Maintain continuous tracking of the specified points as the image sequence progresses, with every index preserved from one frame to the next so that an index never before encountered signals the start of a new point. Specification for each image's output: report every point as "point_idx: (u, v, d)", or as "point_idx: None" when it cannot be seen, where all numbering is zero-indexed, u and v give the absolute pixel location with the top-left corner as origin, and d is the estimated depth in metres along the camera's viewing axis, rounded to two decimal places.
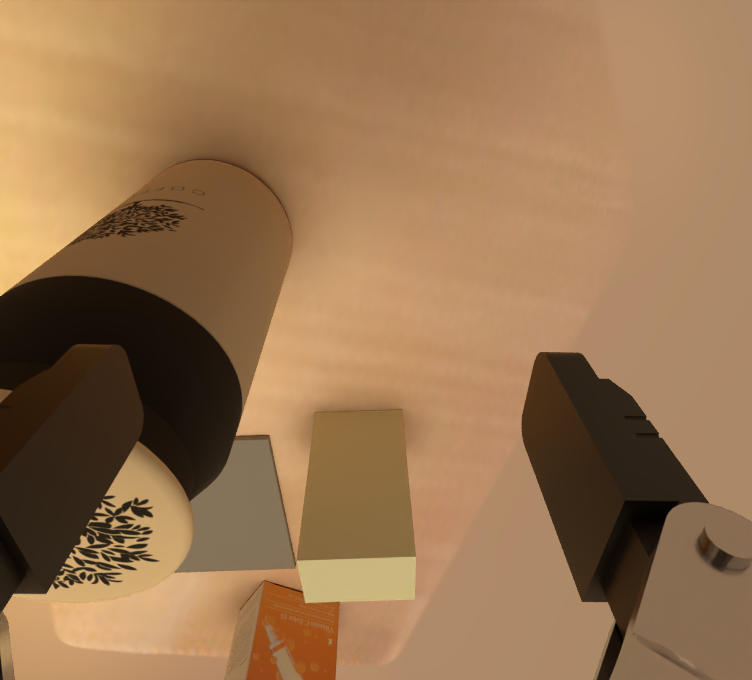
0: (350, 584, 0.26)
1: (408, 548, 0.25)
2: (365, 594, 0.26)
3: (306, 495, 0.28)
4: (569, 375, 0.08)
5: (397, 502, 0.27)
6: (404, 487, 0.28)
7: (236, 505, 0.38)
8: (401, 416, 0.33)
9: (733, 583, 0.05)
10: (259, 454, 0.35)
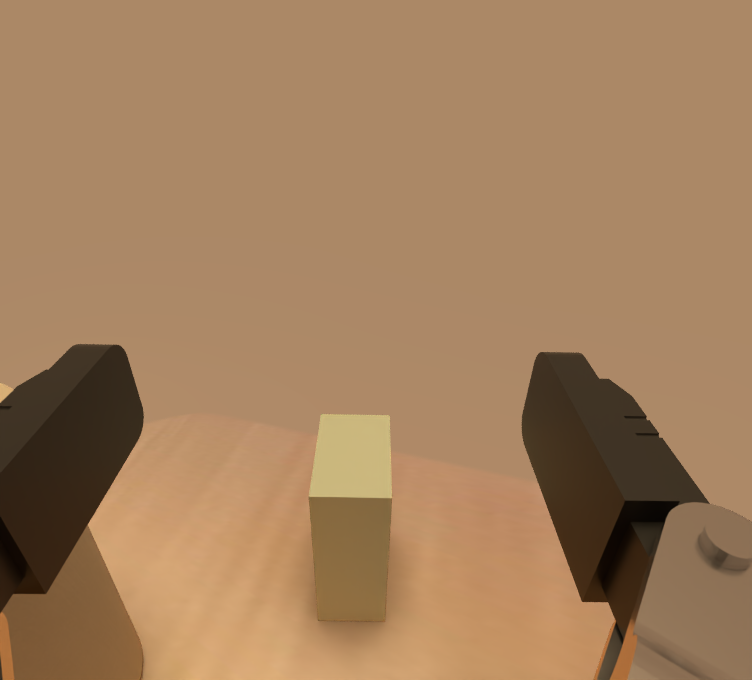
0: (359, 457, 0.26)
1: None
2: (379, 447, 0.26)
3: (313, 546, 0.25)
4: (569, 375, 0.08)
5: None
6: None
7: None
8: None
9: (734, 583, 0.05)
10: None
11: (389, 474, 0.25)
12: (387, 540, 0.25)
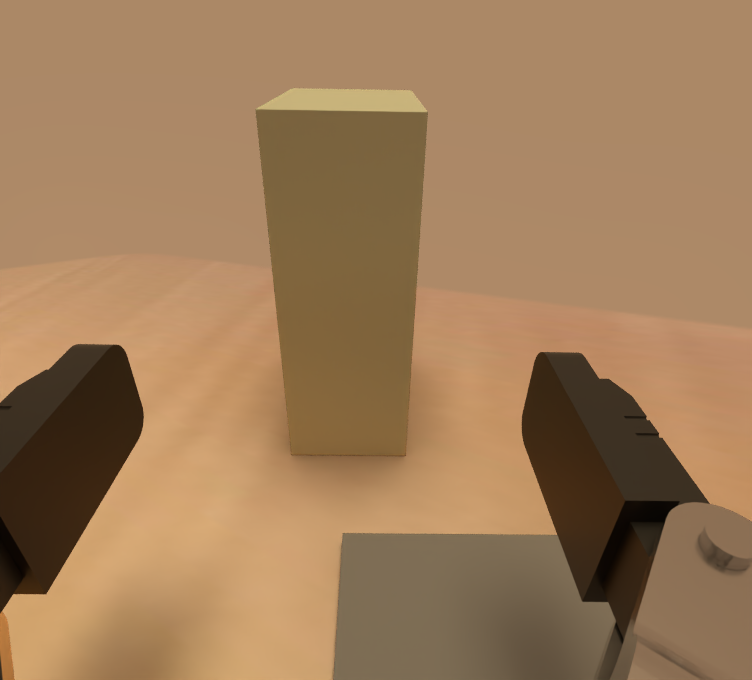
0: (359, 99, 0.13)
1: None
2: (396, 97, 0.14)
3: (273, 268, 0.13)
4: (569, 375, 0.08)
5: None
6: None
7: None
8: None
9: (734, 583, 0.05)
10: (395, 560, 0.13)
11: (419, 104, 0.13)
12: (415, 245, 0.13)
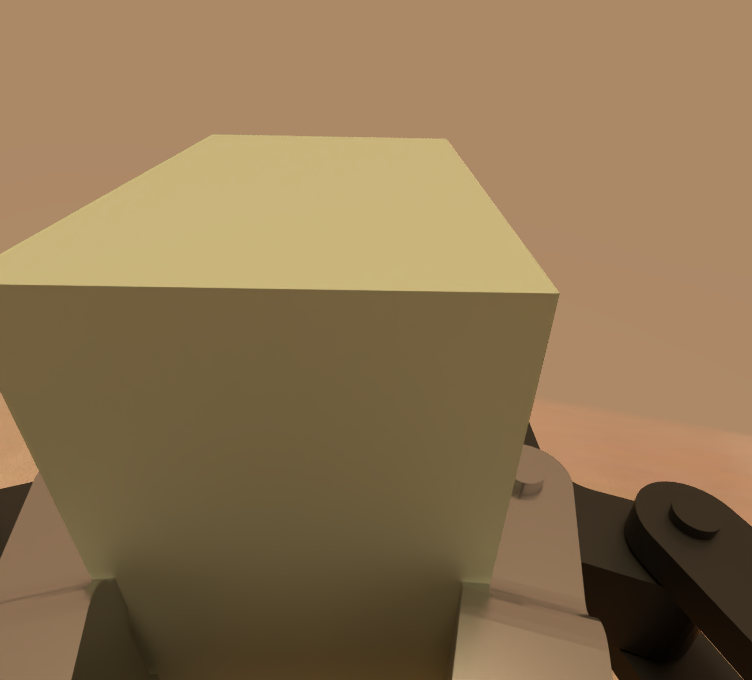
0: (336, 187, 0.05)
1: None
2: (424, 173, 0.06)
3: None
4: None
5: None
6: None
7: None
8: None
9: (516, 503, 0.06)
10: None
11: (498, 221, 0.04)
12: None
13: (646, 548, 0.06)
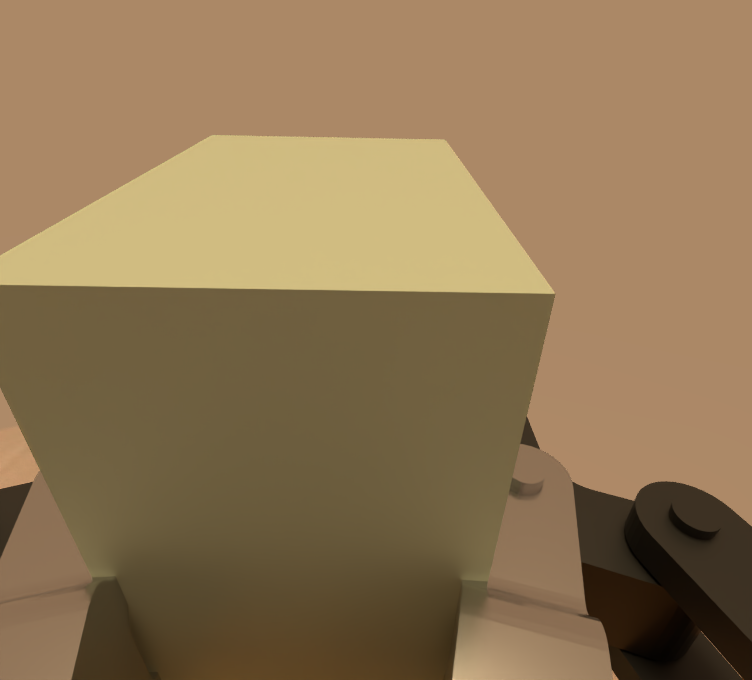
0: (334, 189, 0.05)
1: None
2: (422, 174, 0.06)
3: None
4: None
5: None
6: None
7: None
8: None
9: (516, 503, 0.06)
10: None
11: (495, 222, 0.04)
12: None
13: (646, 548, 0.06)
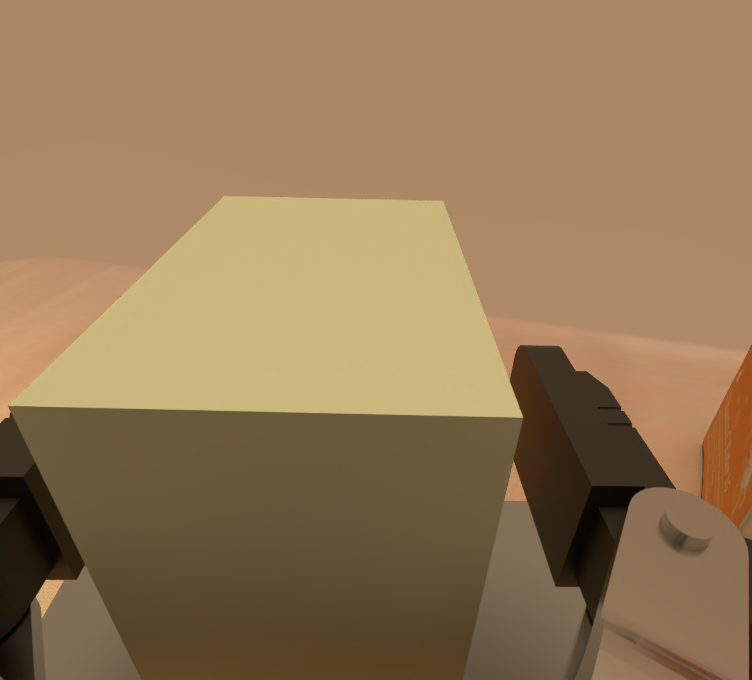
0: (336, 274, 0.06)
1: None
2: (418, 254, 0.07)
3: (138, 656, 0.06)
4: (546, 367, 0.08)
5: None
6: None
7: None
8: None
9: (690, 562, 0.05)
10: None
11: (479, 322, 0.05)
12: (462, 638, 0.05)
13: None
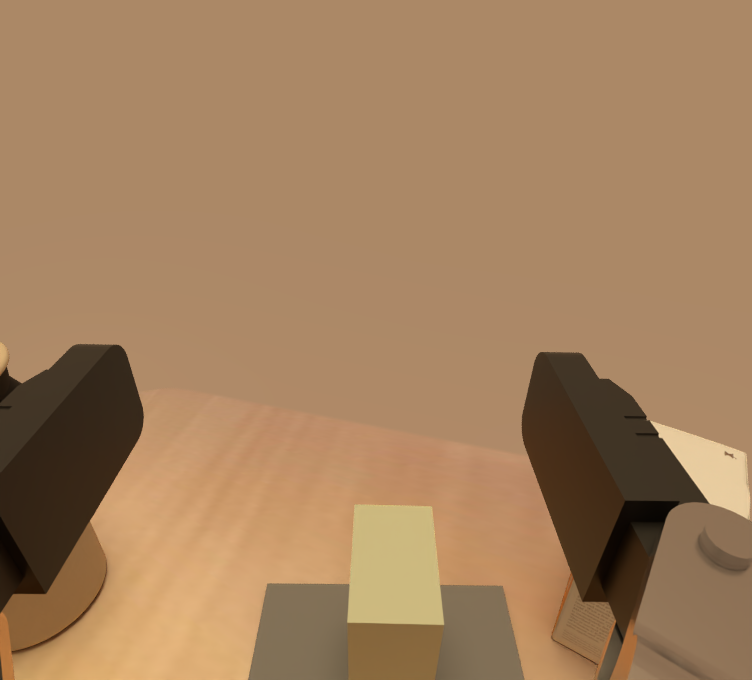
0: (401, 566, 0.22)
1: None
2: (423, 551, 0.23)
3: None
4: (569, 375, 0.08)
5: None
6: None
7: None
8: None
9: (734, 583, 0.05)
10: (287, 595, 0.32)
11: (438, 590, 0.21)
12: (435, 664, 0.22)
13: None
